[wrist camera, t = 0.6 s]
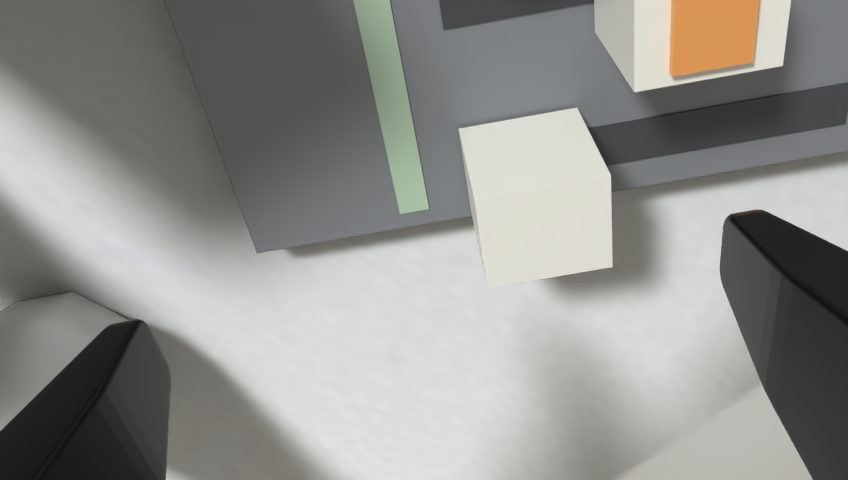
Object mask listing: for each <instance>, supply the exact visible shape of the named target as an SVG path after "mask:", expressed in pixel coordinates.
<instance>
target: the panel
mask: <svg viewBox="0 0 848 480" xmlns="http://www.w3.org/2000/svg"><path fill="white" fill-rule="evenodd" d="M164 1H165V4H166V7H167V9H168V12H169V15H170V18H171V20H172V23H173V26H174V28H175V31H176V34H177V37H178V39H179V42H180V45H181V47H182V50H183V53H184V56H185V58H186V61H187V64H188V67H189V69H190V72H191V75H192V77H193V80H194V83H195V86H196V88H197V91H198V94H199V96H200V99H201V102H202V105H203V107H204V110H205V113H206V116H207V118H208V121H209V124H210V126H211V129H212V132H213V135H214V137H215V140H216V143H217V145H218V148H219V151H220V154H221V156H222V159H223V162H224V165H225V167H226V170H227V173H228V175H229V178H230V181H231V184H232V186H233V189H234V192H235V194H236V197H237V200H238V203H239V205H240V208H241V211H242V214H243V216H244V219H245V222H246V224H247V227H248V230H249V233H250V235H251V238H252V241H253V243H254V246H255V249H256V252H257V253H262V252H267V251H273V250H279V249H285V248H290V247H296V246H302V245H308V244H314V243H319V242H325V241H331V240H337V239H342V238H348V237H354V236H360V235H366V234H371V233H377V232H383V231H389V230H394V229H400V228H406V227H412V226H417V225H423V224H429V223H435V222H441V221H446V220H452V219H458V218H464V217H469V216H472V214H471V208H470V201H469V195H468V188H467V181H466V175H465V168H464V162H463V155H462V148H461V142H460V135H459V128H465V127H470V126H476V125H482V124H487V123H493V122H499V121H504V120H510V119H515V118H521V117H527V116H532V115H538V114H544V113H549V112H555V111H561V110H566V109H572V108H578V110H579V112H580V114H581V116H582V118H583V120H584V122H585V124H586V126H587V128H588V130H589V132H590V134H591V136H592V138H593V140H594V142H595V144H596V146H597V148H598V150H599V152H600V154H601V156H602V158H603V160H604V162H605V164H606V166H607V168H608V170H609V172H610V174H611V192H614V191H620V190H625V189H631V188H637V187H643V186H648V185H654V184H660V183H666V182H671V181H677V180H683V179H689V178H695V177H700V176H706V175H712V174H718V173H723V172H729V171H735V170H741V169H747V168H752V167H758V166H764V165H770V164H775V163H781V162H787V161H793V160H798V159H804V158H810V157H816V156H822V155H827V154H833V153H839V152H845V151H848V0H791V5H790V13H789V21H788V29H787V37H786V45H785V53H784V61H783V66H780V67H774V68H769V69H763V70H757V71H752V72H746V73H740V74H735V75H729V76H724V77H718V78H712V79H707V80H701V81H695V82H690V83H684V84H679V85H673V86H667V87H662V88H656V89H650V90H645V91H639V92H634V91H633V90H632V88H631V87H630V85H629V84H628V82H627V81H626V79H625V78H624V76H623V75H622V73H621V71H620V70H619V68H618V67H617V65H616V64H615V62H614V61H613V59H612V58H611V56H610V54H609V53H608V51H607V50H606V48H605V47H604V45H603V44H602V42H601V41H600V39H599V38H598V36H597V34H596V33H595V18H594V0H164Z"/></svg>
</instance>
